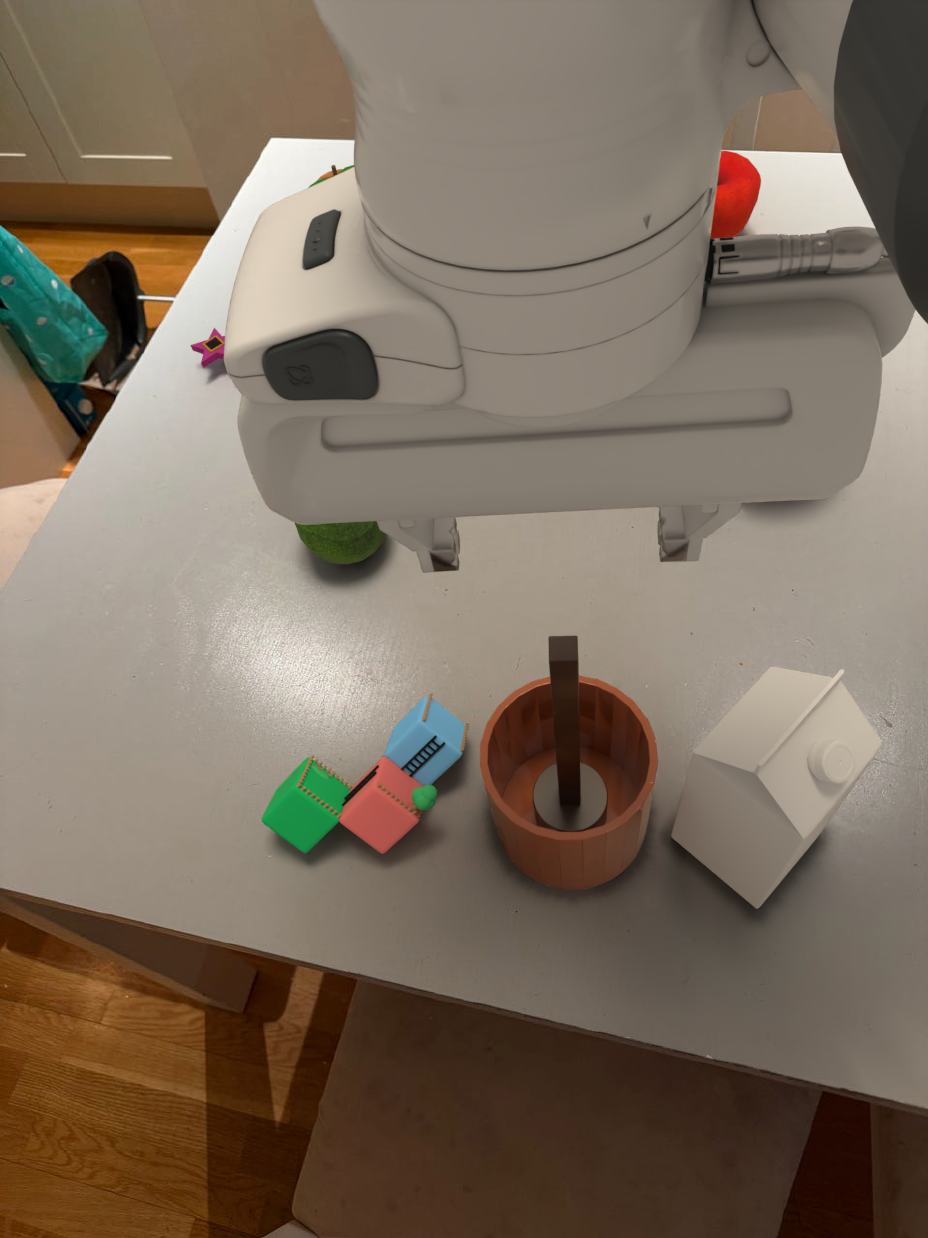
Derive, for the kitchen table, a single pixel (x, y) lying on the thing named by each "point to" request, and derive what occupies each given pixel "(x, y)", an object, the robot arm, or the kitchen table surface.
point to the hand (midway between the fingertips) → (557, 553)
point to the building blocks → (372, 785)
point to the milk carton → (772, 778)
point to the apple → (734, 195)
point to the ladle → (568, 754)
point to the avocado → (342, 540)
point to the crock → (607, 744)
